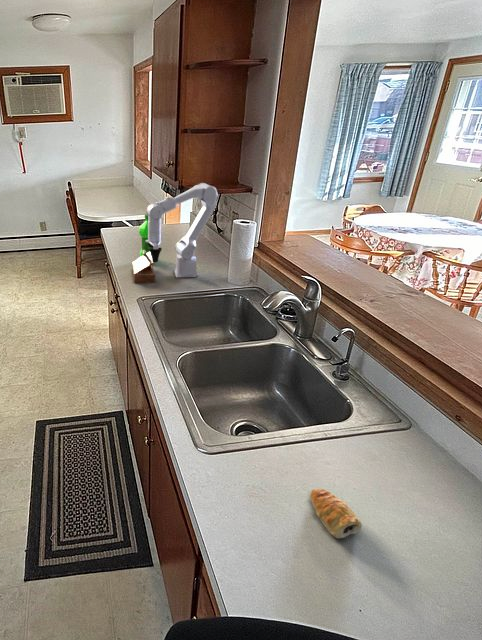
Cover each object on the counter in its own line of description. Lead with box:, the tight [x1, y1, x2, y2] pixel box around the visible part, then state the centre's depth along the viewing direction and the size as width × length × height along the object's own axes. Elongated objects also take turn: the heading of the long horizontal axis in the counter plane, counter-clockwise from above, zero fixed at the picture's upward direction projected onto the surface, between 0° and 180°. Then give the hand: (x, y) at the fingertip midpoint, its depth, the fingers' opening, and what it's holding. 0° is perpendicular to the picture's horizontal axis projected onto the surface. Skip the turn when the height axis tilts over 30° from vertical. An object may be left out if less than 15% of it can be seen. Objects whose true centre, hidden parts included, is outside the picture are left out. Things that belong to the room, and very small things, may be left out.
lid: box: [132, 250, 155, 276], centre depth 186 cm, size 10×16×5 cm
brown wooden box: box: [132, 264, 156, 284], centre depth 189 cm, size 10×16×4 cm, turn 0°
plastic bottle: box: [138, 213, 150, 257], centre depth 203 cm, size 10×10×25 cm
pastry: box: [309, 488, 362, 540], centre depth 77 cm, size 9×7×4 cm
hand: (154, 258), depth 183 cm, fingers open, 7 cm apart
